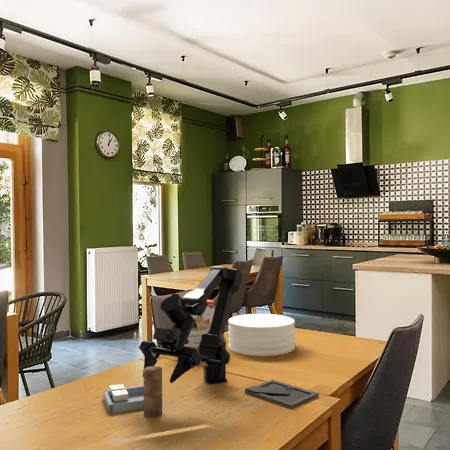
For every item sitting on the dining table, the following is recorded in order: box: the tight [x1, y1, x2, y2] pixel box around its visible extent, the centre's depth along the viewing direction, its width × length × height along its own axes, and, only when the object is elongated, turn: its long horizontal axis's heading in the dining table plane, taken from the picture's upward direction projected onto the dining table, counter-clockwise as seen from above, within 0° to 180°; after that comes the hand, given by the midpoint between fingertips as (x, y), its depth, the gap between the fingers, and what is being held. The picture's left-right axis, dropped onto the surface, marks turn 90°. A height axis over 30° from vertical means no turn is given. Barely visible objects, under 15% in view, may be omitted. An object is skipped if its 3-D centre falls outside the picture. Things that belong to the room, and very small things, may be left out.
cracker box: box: [184, 299, 216, 353], centre depth 192 cm, size 14×6×21 cm, turn 117°
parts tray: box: [103, 384, 144, 414], centre depth 137 cm, size 14×12×3 cm
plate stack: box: [227, 313, 296, 357], centre depth 200 cm, size 28×28×12 cm
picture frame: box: [244, 379, 320, 410], centre depth 144 cm, size 13×2×18 cm
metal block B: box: [112, 389, 128, 403], centre depth 133 cm, size 4×4×4 cm
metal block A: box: [108, 383, 126, 401], centre depth 138 cm, size 4×4×4 cm
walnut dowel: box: [142, 365, 163, 418], centre depth 128 cm, size 5×5×13 cm
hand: (157, 379), depth 130 cm, fingers open, 9 cm apart
